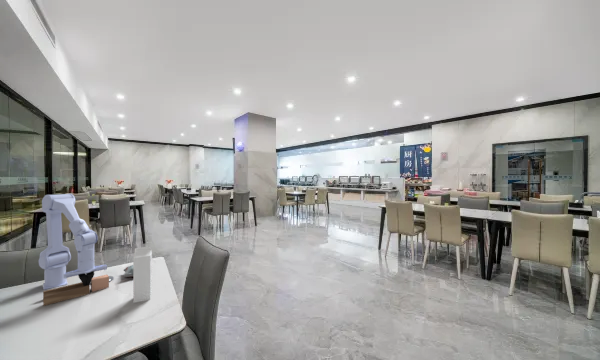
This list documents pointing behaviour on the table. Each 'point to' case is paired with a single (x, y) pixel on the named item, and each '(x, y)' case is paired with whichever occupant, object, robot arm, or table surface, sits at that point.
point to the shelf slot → (65, 293)
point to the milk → (142, 274)
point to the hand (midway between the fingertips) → (86, 289)
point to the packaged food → (128, 271)
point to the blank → (99, 282)
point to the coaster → (109, 278)
